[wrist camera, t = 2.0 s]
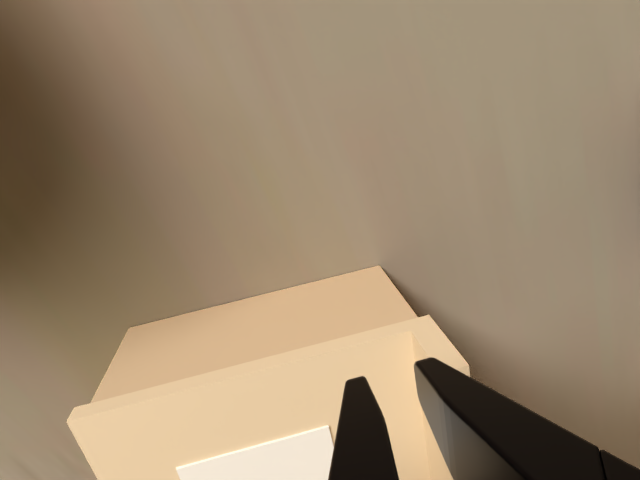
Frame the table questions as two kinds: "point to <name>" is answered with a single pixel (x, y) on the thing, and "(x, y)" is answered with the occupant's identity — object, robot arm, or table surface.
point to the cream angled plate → (270, 413)
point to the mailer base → (252, 330)
